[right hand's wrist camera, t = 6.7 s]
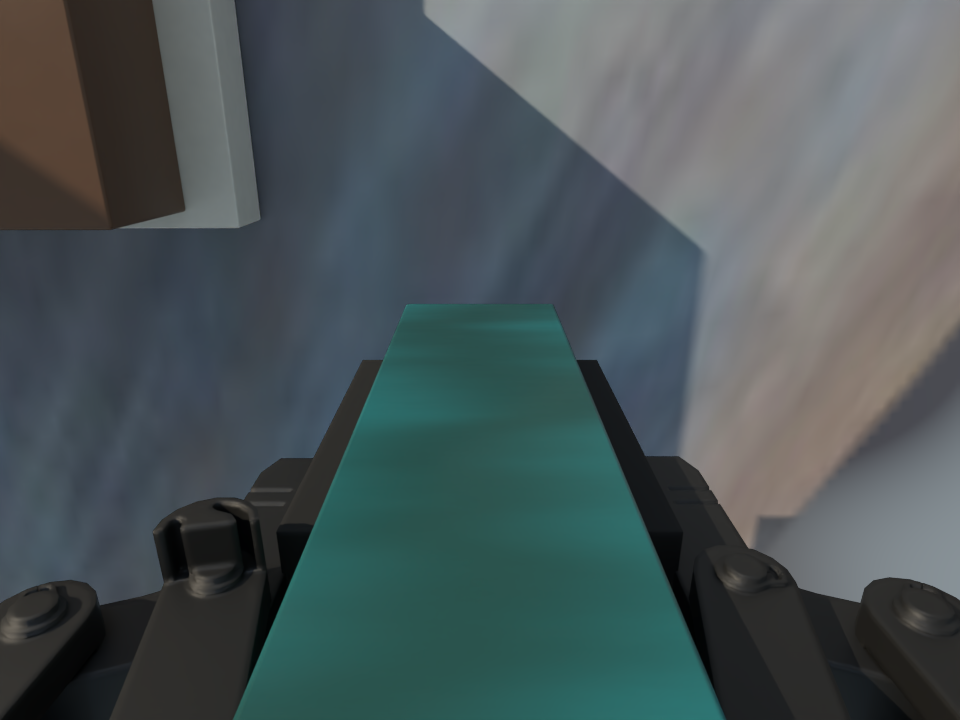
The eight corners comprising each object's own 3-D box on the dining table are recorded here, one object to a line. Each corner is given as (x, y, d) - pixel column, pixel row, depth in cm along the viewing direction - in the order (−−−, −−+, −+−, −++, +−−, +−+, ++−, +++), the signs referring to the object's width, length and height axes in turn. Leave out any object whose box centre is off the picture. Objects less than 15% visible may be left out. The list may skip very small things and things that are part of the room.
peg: (553, 303, 16) (841, 977, 3) (548, 435, 18) (734, 1271, 5) (405, 303, 16) (118, 977, 3) (411, 435, 18) (224, 1273, 5)
